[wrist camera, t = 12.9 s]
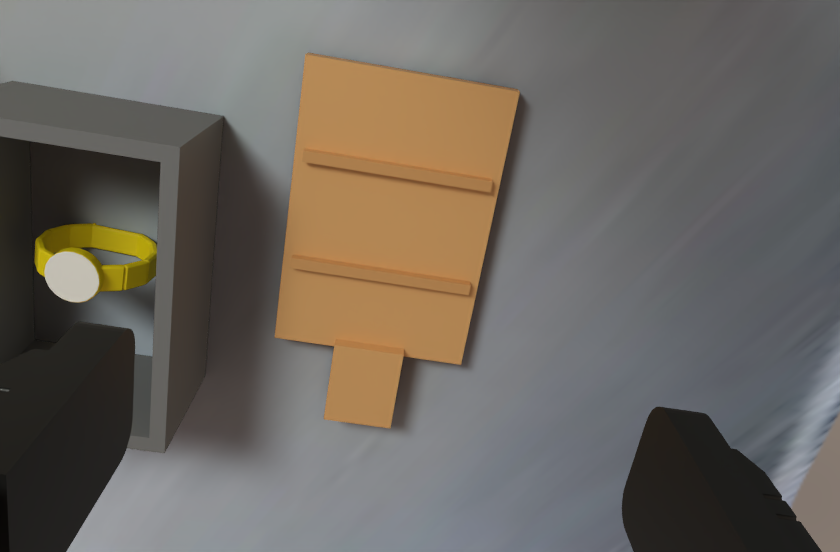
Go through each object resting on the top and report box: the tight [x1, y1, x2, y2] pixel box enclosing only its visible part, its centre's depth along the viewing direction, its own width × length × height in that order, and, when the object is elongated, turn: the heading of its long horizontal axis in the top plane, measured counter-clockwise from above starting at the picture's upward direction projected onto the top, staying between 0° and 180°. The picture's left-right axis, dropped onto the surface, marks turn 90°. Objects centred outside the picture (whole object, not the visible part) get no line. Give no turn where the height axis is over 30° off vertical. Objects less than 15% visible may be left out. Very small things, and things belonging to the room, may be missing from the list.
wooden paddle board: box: [275, 53, 520, 428], centre depth 42 cm, size 20×11×3 cm, turn 170°
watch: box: [34, 223, 157, 303], centre depth 39 cm, size 6×3×6 cm, turn 77°
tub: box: [0, 81, 224, 453], centre depth 38 cm, size 16×11×8 cm
